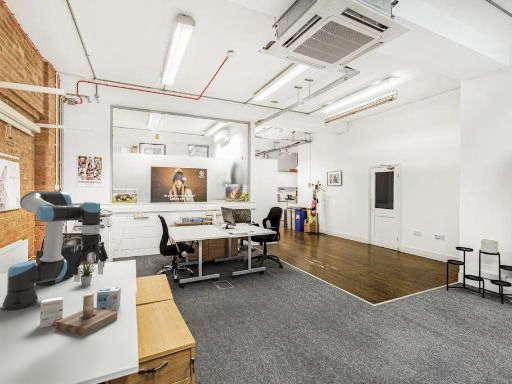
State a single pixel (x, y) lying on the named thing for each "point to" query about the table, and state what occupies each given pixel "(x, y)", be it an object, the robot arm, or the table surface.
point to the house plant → (86, 274)
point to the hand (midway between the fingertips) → (89, 277)
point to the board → (86, 322)
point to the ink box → (51, 311)
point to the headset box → (67, 253)
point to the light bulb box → (109, 298)
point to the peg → (88, 306)
